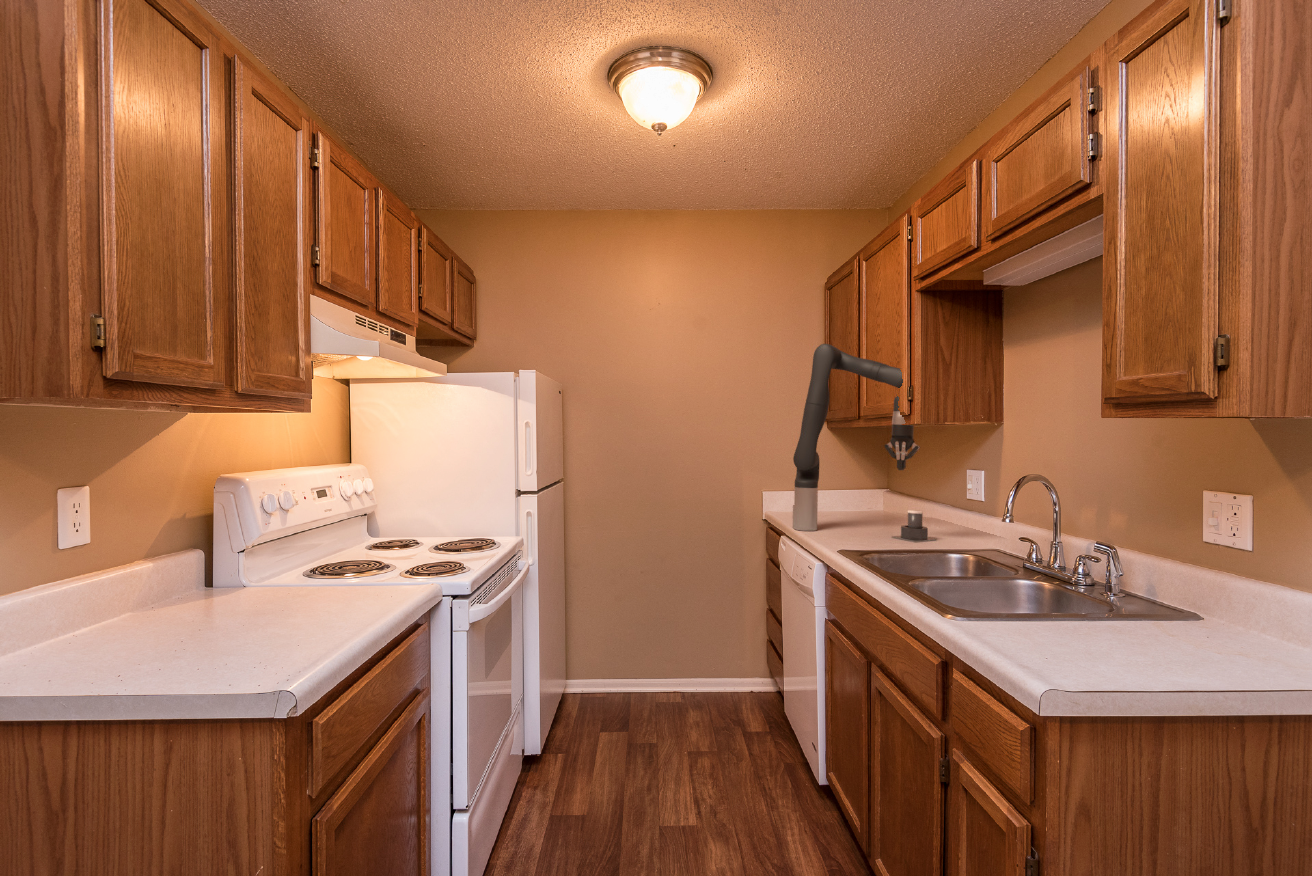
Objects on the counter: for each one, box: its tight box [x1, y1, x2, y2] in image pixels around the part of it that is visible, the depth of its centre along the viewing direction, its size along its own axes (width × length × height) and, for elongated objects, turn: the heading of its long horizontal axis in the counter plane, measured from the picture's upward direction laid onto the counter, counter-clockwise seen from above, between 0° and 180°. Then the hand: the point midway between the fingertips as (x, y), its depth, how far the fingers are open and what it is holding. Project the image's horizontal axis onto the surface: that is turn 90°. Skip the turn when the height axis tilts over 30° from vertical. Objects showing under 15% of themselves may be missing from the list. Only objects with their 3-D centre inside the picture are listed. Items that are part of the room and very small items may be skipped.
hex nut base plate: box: [891, 524, 938, 543], centre depth 233 cm, size 11×11×4 cm
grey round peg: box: [907, 509, 924, 528], centre depth 232 cm, size 5×5×10 cm
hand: (901, 470), depth 234 cm, fingers closed
